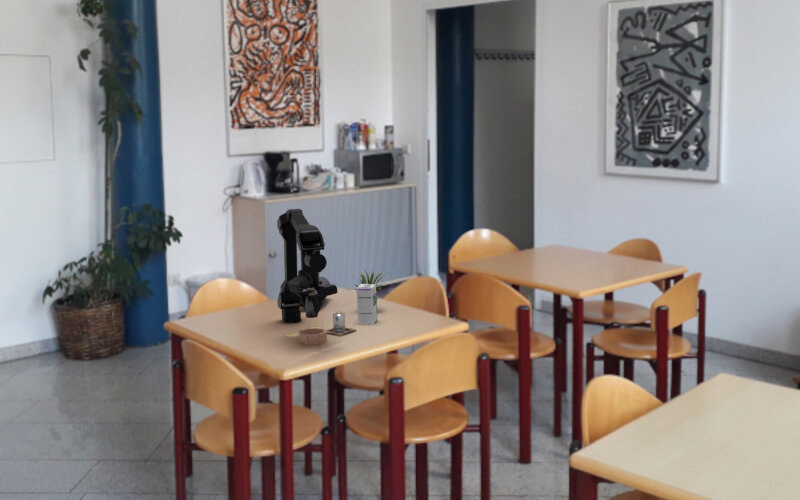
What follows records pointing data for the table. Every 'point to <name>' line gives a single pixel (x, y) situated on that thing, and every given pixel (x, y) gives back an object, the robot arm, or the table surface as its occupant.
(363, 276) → the house plant
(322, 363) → the table surface
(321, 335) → the pot
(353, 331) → the brown wooden tray
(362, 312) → the syrup box
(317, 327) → the blue grey board
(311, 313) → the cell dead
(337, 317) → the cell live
